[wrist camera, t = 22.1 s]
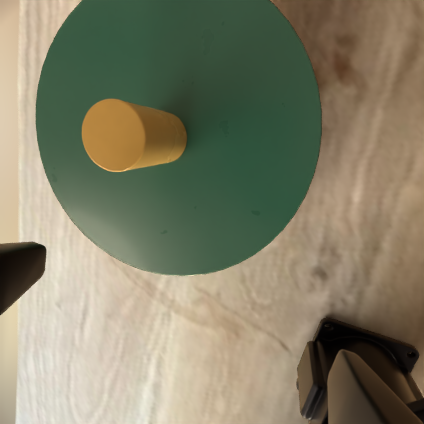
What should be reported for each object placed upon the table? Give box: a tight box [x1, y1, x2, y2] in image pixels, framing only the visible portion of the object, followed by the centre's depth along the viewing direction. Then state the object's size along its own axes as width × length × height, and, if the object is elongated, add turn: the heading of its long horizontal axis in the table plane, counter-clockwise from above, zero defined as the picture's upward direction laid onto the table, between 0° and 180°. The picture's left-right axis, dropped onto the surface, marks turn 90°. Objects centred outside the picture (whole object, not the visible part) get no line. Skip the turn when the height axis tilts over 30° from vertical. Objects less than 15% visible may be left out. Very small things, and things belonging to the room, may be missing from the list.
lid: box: [36, 0, 322, 276], centre depth 13 cm, size 14×14×6 cm
